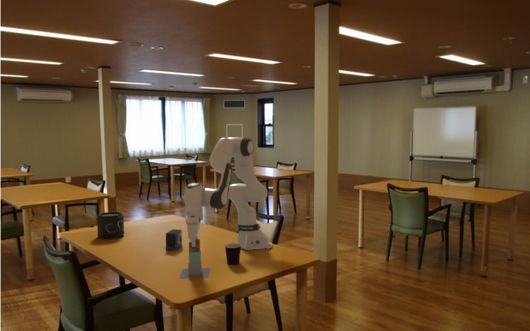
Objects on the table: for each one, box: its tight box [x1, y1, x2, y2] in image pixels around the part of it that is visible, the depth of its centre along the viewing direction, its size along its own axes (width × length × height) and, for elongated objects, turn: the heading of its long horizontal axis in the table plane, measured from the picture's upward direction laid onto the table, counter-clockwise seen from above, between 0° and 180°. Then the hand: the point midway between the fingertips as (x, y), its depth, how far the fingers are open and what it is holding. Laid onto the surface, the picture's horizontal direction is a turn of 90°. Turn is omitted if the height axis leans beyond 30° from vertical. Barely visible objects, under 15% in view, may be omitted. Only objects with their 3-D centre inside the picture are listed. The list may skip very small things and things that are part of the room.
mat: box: [178, 267, 211, 280], centre depth 200 cm, size 14×14×1 cm
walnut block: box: [188, 238, 201, 253], centre depth 199 cm, size 5×5×5 cm
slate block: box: [187, 261, 203, 275], centre depth 200 cm, size 6×6×6 cm
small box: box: [165, 229, 183, 251], centre depth 245 cm, size 11×6×10 cm, turn 168°
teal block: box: [188, 250, 202, 264], centre depth 200 cm, size 6×6×6 cm
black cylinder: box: [96, 211, 125, 240], centre depth 274 cm, size 18×18×16 cm
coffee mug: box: [224, 242, 242, 266], centre depth 216 cm, size 12×9×10 cm
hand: (194, 243), depth 199 cm, fingers open, 8 cm apart
